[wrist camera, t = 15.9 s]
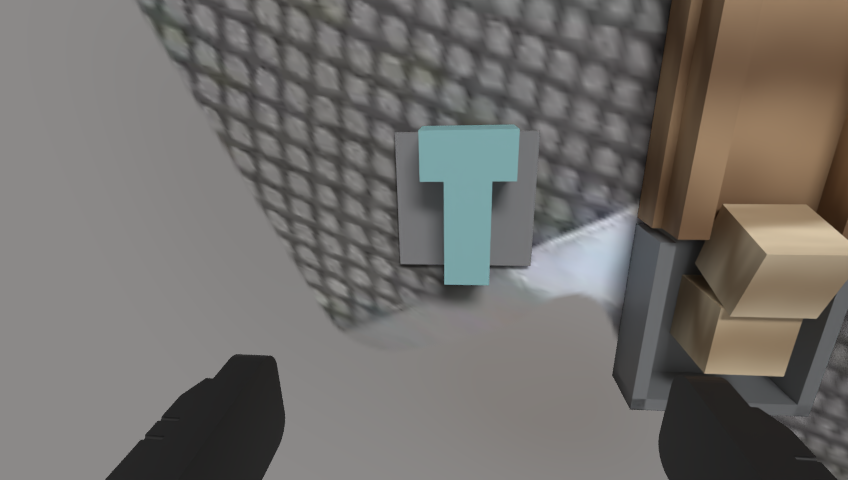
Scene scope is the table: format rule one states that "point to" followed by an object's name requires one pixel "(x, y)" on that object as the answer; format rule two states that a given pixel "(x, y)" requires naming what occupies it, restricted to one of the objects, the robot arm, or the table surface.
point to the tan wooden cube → (773, 260)
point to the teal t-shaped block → (468, 190)
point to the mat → (426, 207)
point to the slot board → (749, 113)
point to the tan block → (730, 334)
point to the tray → (665, 358)
